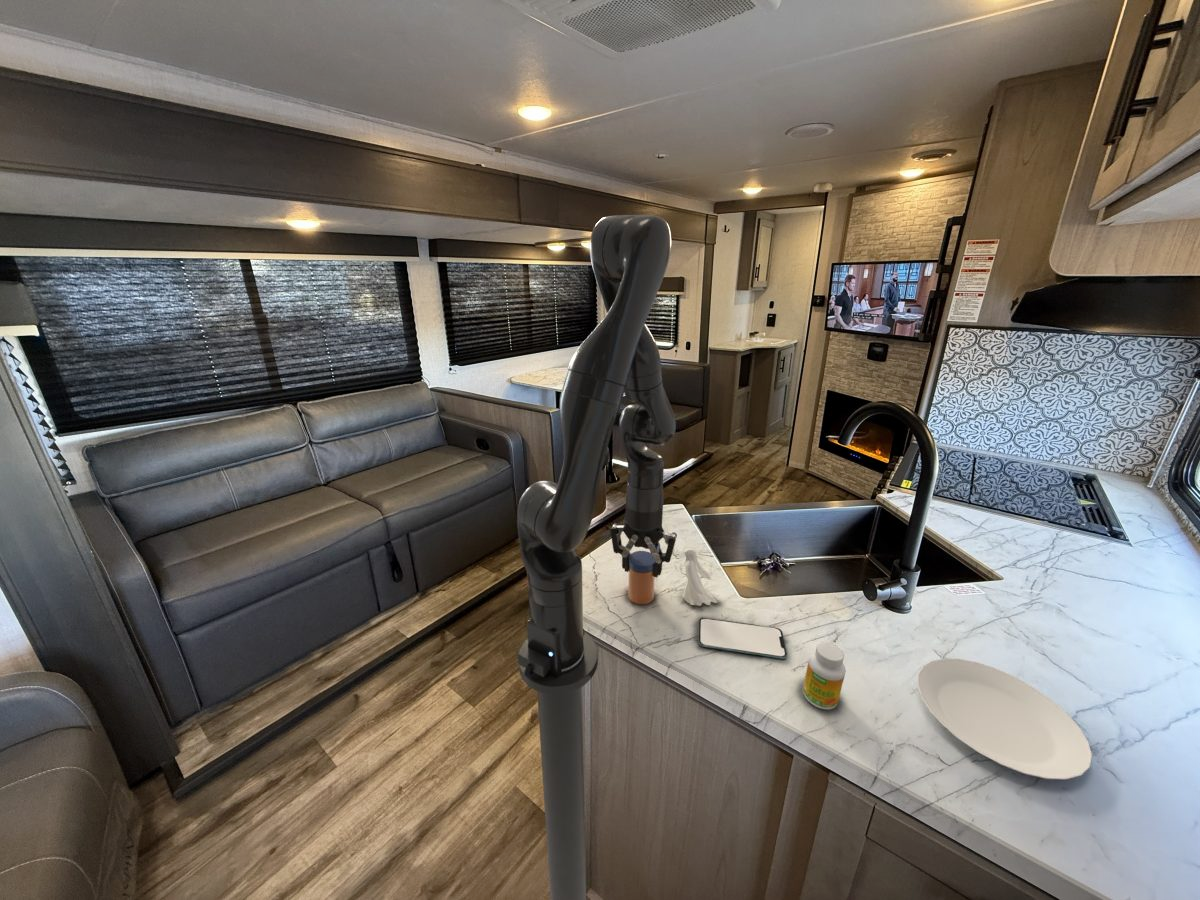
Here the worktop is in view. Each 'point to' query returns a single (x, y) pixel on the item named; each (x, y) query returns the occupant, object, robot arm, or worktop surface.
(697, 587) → the figurine
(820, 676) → the supplement bottle
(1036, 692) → the plate
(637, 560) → the jar lid
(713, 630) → the smartphone
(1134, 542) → the worktop surface
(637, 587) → the jar
